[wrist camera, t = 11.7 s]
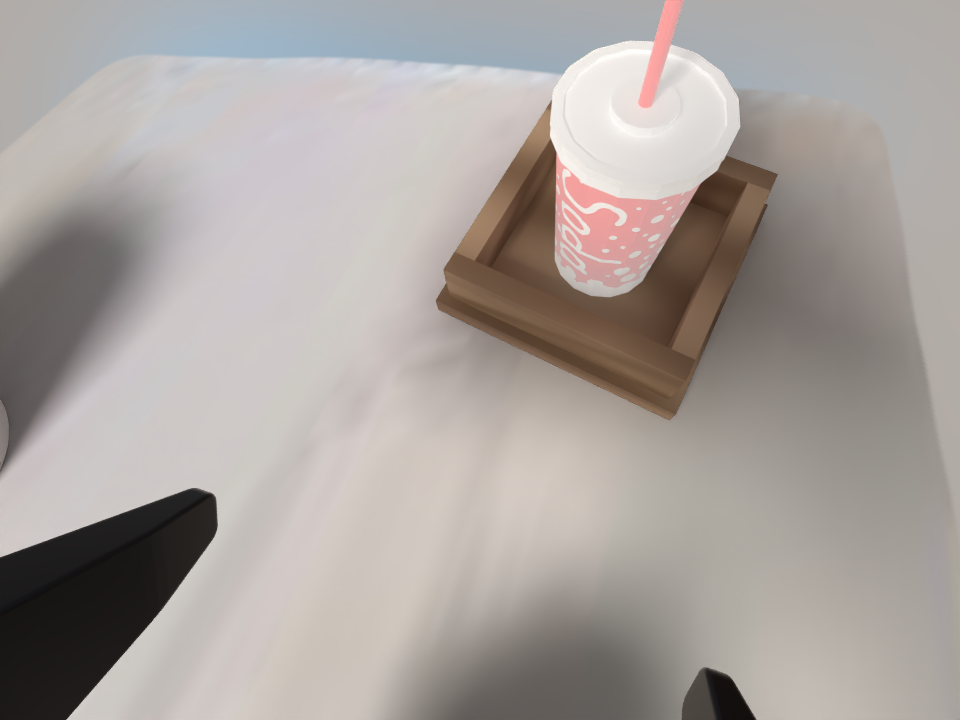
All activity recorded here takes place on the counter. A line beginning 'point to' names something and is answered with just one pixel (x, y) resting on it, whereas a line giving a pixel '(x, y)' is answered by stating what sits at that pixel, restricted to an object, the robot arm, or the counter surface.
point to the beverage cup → (633, 153)
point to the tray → (593, 319)
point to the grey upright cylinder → (3, 433)
